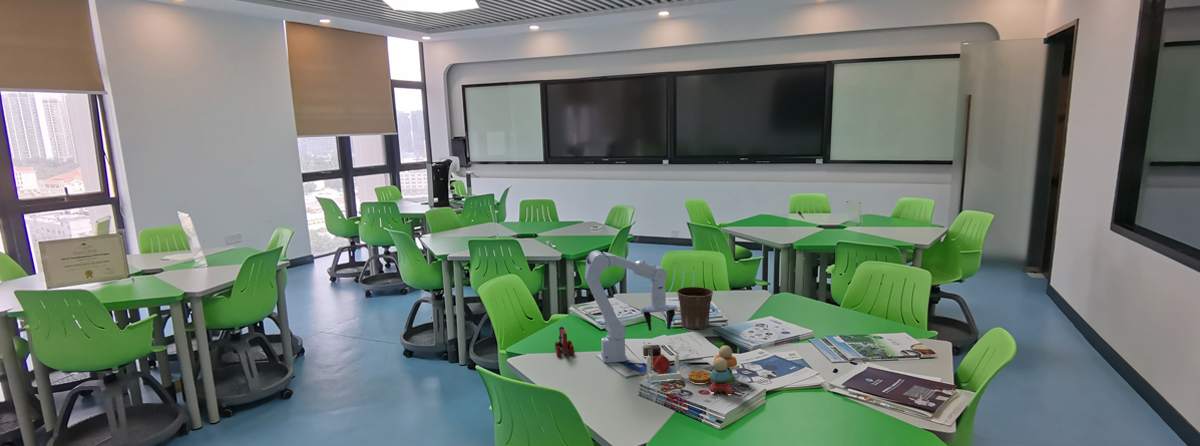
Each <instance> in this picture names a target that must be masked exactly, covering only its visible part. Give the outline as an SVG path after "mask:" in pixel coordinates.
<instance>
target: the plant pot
mask: <svg viewBox="0 0 1200 446" xmlns="http://www.w3.org/2000/svg"><path fill="white" fill-rule="evenodd" d="M713 294H714V291H713V290H712V289H710V288H706V287H701V286H686V287H681V288H678V289H677V290H676V295H677V296H678V297H677V298H678V302H679V313H680V321H681V326H682V327H683V328H685V329H688V330H696V329H699V330H703V329H707V328H708V327H709V325H710V324H709V323H710V322H709V321H710V312H711V302H712V299H713Z"/></svg>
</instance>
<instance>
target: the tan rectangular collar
mask: <svg viewBox="0 0 1200 446" xmlns="http://www.w3.org/2000/svg"><path fill="white" fill-rule="evenodd" d="M647 345H648V346H646V345H643V346H642V354H643V355H644V356H648V350H650V349H651V346H654V345H655V344H647ZM643 355H642V356H643ZM644 356H643V357H644Z"/></svg>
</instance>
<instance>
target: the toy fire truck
mask: <svg viewBox="0 0 1200 446" xmlns="http://www.w3.org/2000/svg"><path fill="white" fill-rule="evenodd" d="M558 331H559V336H558V341H555V342H554V347H555V348H554V349H555V352H556V356H557V357H561V356H562V353H563V354H564V355H566V354H568V353H569V355H570V356H572V355H574V354H575V348H574V345H573V342H572V340H570V339H569V340H568V334H567V332H566V330H565V327H563V326H559V328H558Z"/></svg>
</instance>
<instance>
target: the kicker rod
mask: <svg viewBox="0 0 1200 446" xmlns="http://www.w3.org/2000/svg"><path fill="white" fill-rule="evenodd" d="M648 345H649V344H646V345H645V346H648ZM653 345H654V346H651V349H650V350H648V355H649V356H650V357H651V363H652V364H651V370H656V369H655V367H654V363H655V360H656V359H657V358H658V357H659V356H660V355H661V354H662V351H661V350H662V348H661V346H660V345H659V344H653Z"/></svg>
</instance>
